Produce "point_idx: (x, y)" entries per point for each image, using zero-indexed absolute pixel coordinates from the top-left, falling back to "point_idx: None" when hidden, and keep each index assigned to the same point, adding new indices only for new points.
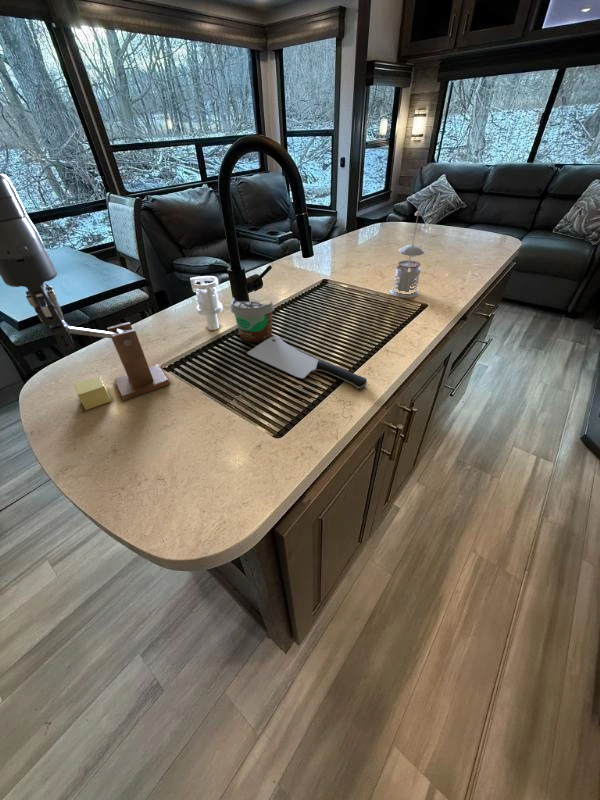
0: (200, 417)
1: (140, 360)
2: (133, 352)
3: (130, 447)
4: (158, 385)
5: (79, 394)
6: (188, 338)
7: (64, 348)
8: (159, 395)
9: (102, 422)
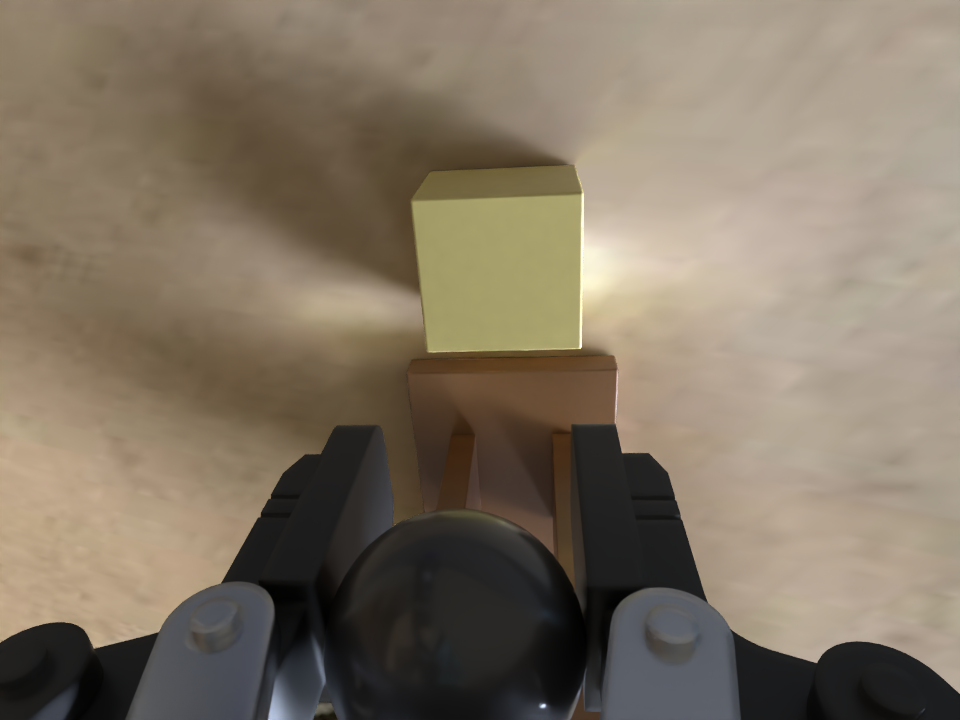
0: (140, 564)
1: None
2: None
3: (34, 316)
4: None
5: (411, 211)
6: None
7: (296, 470)
8: None
9: (269, 236)
